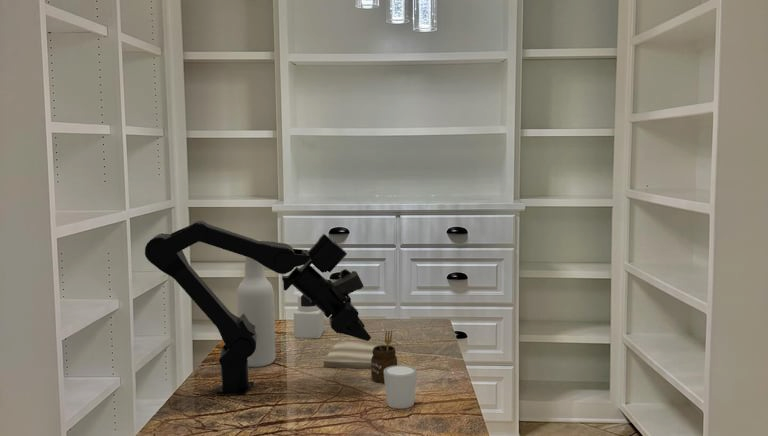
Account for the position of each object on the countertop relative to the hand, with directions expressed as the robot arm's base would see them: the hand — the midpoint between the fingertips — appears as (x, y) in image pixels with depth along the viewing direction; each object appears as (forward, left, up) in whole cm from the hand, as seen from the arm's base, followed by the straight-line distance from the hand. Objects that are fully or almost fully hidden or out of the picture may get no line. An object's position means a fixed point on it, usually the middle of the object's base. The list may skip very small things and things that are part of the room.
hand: (366, 333), depth 150 cm
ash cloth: (+15, +5, -11) cm, 19 cm away
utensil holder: (+1, -4, -11) cm, 12 cm away
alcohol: (+9, +29, -11) cm, 32 cm away
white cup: (-13, -9, -11) cm, 19 cm away
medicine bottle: (+33, +22, -11) cm, 41 cm away
